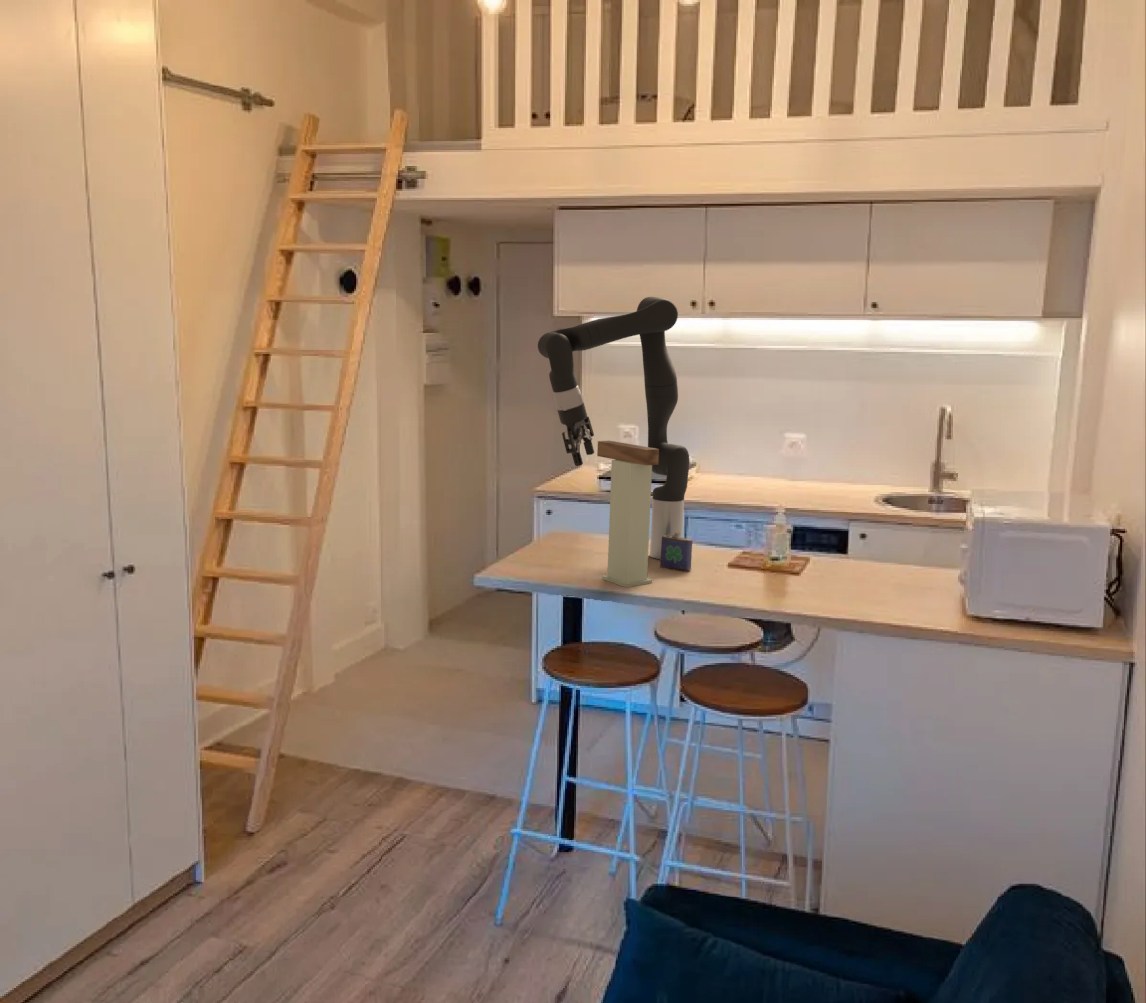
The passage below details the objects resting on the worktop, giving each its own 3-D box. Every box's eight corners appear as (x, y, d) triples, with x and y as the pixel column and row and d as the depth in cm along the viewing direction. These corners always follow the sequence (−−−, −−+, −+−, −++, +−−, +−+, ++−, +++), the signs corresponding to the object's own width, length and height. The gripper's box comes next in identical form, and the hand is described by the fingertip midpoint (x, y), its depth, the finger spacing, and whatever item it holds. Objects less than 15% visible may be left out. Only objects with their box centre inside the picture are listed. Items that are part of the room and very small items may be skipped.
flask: (692, 570, 283) (694, 532, 281) (688, 572, 280) (689, 534, 279) (662, 565, 287) (663, 528, 286) (657, 567, 285) (659, 530, 283)
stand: (627, 574, 276) (632, 457, 270) (652, 582, 268) (657, 462, 262) (602, 578, 270) (606, 459, 265) (626, 587, 262) (631, 464, 257)
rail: (608, 455, 274) (609, 440, 273) (658, 464, 258) (658, 449, 258) (597, 456, 272) (597, 441, 271) (646, 465, 256) (647, 449, 255)
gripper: (567, 398, 284) (582, 452, 289) (547, 414, 272) (562, 470, 277) (591, 394, 280) (606, 449, 285) (572, 410, 269) (587, 467, 273)
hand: (585, 459), depth 281 cm, fingers open, 8 cm apart
